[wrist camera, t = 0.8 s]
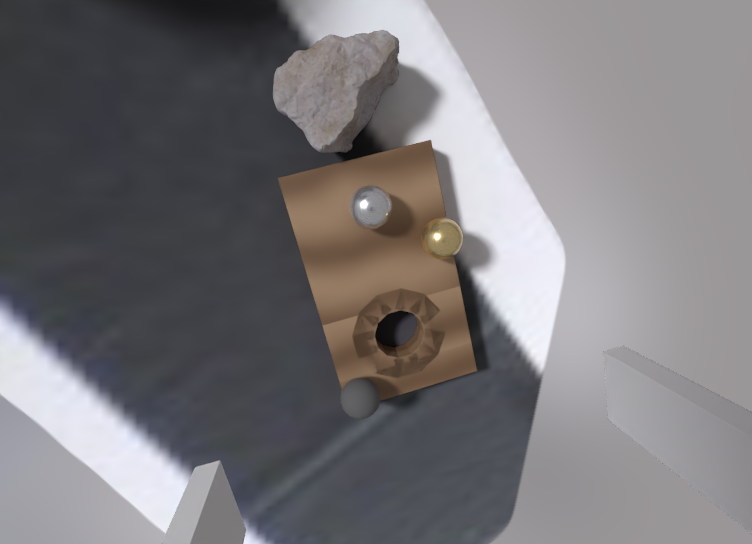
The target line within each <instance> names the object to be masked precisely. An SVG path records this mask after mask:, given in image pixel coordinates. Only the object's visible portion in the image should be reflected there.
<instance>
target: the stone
mask: <svg viewBox="0 0 752 544" xmlns="http://www.w3.org/2000/svg"><path fill="white" fill-rule="evenodd" d="M398 53H399V41H398V38H396V37H395V36H393V35H391V34H390V33H389V32H387V31H384V30H381V31H374V32H372V33H369V34H366V33H361V34H356V35H354V36H350V37H347V38H342V37H339V36H336V35H328V36H326V37H324V38H322V40H320V41H317V42H316V43H315V44H314V45H313V46H312V47H311V48H310V49H308V50H298V51H296V52H294V54H293V55H292V56H291V57H290V58H288V62H286V63H284V64H283V65H282V66H281V67H278V68H277V70H276V72H275V76H274V86H273V98H274V102H275V105H276V108H277V110H278V111H279V112H280V113H282V114H284V115H286V116H288V117H289V118H290V119H291V120H293V121H294V122H295V123H296V125H297V126H298V127H299V128H301V129H302V130H303V131H304V133H305V136H306V138H307V140H308V142H309V143H310V144H311V146H312V147H314V148H315V149H316V150H317V151H319V152H323V153H324V152H344V153H347V152H348V151H349V150H351V149H352V141H353V140H354V138H355V137H356V136H357V135H358V134H359V132H360V131H361V130H362V129H363V128H364V127H365V126H366V124H367V123H368V122H369V121H370V120H371V118H372V115H373V111H374V110H375V109H376V107H377V104H378V102H379V99H380V96H381V93H382V92H383V90H384V89H385V88H386V87H387V86H389V85H393V84H394V83H395V82H396V80H397V78H398V75H399V71H398V70H397V68H396V65H397V64H398V59H397V56H398Z"/></svg>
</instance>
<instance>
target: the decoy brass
mask: <svg viewBox="0 0 752 544" xmlns="http://www.w3.org/2000/svg"><path fill="white" fill-rule="evenodd" d="M462 243H463V234H462V230H461V228H460V227H459V225H458V224H457V223H456V222H454V221H453V220H451V219H448V218H436V219H434V220H432V221H430V222H429V223H427V224H426V226H425V227H424V228H423V230H422V233H421V244H422V247H423V249H424V251H425V252H426V253H427V254H428V255H429V256H431V257H432V258H435V259H440V260H443V259H448V258H451V257H453V256H454V255H455V254H457V253H458V251H459V250H460V248H461V246H462Z"/></svg>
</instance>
